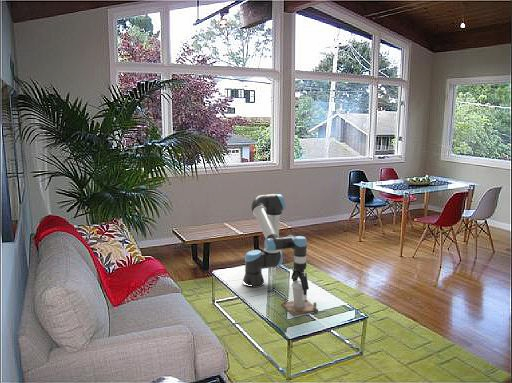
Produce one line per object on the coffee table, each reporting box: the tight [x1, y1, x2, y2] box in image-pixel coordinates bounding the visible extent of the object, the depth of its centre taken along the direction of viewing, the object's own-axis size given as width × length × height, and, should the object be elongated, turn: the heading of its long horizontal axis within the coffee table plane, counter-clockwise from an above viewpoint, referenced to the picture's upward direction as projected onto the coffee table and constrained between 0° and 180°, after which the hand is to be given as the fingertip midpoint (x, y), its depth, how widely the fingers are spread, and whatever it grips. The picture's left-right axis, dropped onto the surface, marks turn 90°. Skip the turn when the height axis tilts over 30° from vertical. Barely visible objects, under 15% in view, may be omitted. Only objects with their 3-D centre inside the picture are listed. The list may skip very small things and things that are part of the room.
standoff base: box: [281, 296, 319, 316], centre depth 261 cm, size 17×17×5 cm
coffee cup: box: [291, 280, 305, 308], centre depth 260 cm, size 10×10×15 cm
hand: (299, 295), depth 261 cm, fingers open, 13 cm apart
